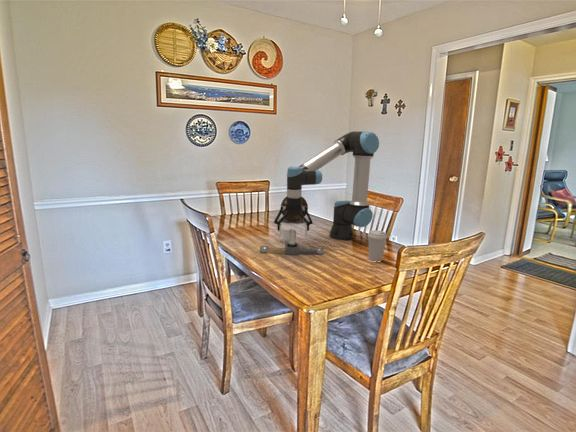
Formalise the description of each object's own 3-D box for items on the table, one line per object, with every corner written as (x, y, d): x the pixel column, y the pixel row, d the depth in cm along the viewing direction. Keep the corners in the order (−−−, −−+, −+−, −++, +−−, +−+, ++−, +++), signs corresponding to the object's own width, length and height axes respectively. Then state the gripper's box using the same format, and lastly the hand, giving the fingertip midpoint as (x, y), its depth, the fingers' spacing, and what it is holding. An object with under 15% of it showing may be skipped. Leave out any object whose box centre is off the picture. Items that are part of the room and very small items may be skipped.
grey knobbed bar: (322, 251, 183) (323, 244, 183) (324, 255, 176) (324, 248, 175) (260, 249, 183) (260, 242, 182) (259, 253, 175) (259, 246, 174)
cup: (292, 242, 196) (293, 229, 195) (275, 243, 194) (276, 229, 193) (290, 239, 203) (290, 226, 201) (274, 239, 201) (274, 226, 199)
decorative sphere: (307, 224, 239) (309, 197, 234) (279, 223, 239) (280, 196, 234) (306, 218, 258) (307, 192, 254) (280, 217, 258) (281, 191, 254)
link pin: (295, 251, 181) (296, 230, 178) (295, 253, 178) (296, 231, 175) (288, 251, 181) (289, 229, 178) (288, 253, 178) (289, 231, 175)
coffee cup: (374, 265, 165) (377, 235, 162) (361, 258, 174) (364, 230, 170) (388, 262, 170) (391, 233, 166) (375, 256, 178) (378, 229, 175)
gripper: (317, 196, 177) (315, 234, 181) (270, 195, 176) (269, 234, 181) (318, 198, 169) (317, 238, 174) (269, 197, 169) (269, 238, 174)
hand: (293, 236), depth 178 cm, fingers open, 13 cm apart
